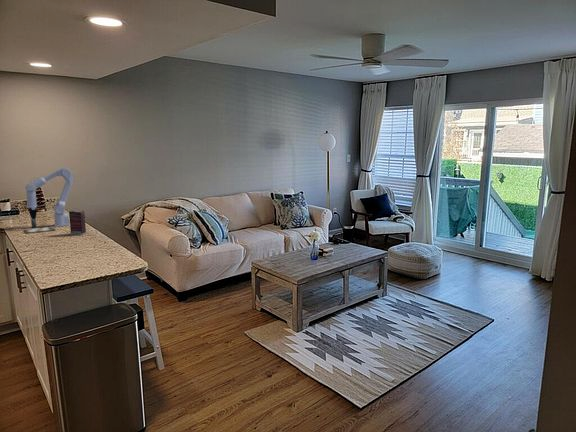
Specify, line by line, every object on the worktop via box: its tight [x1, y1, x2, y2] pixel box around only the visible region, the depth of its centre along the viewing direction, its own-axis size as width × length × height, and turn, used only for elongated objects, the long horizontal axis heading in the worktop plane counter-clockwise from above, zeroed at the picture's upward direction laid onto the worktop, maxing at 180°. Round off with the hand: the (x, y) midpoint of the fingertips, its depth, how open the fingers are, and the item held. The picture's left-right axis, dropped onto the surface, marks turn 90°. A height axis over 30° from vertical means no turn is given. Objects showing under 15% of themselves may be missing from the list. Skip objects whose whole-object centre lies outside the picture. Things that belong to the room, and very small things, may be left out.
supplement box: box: [68, 210, 87, 236], centre depth 274 cm, size 9×5×16 cm, turn 84°
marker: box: [30, 217, 38, 229], centre depth 292 cm, size 3×3×7 cm
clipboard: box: [23, 226, 56, 235], centre depth 284 cm, size 18×14×2 cm
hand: (33, 218), depth 291 cm, fingers open, 7 cm apart
